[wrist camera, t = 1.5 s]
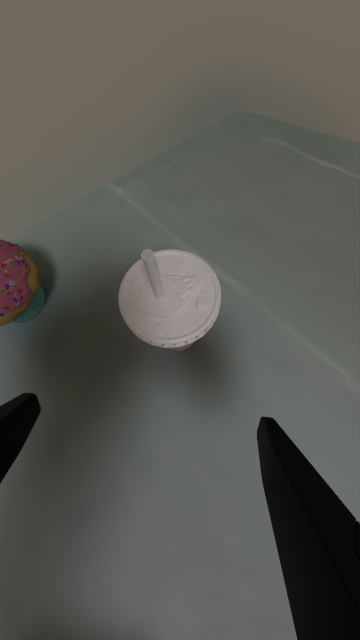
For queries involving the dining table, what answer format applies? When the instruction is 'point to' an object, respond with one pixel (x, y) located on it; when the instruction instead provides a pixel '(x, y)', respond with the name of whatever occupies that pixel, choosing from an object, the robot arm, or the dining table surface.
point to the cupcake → (18, 285)
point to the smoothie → (169, 298)
